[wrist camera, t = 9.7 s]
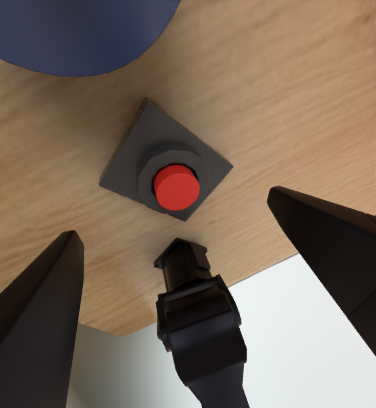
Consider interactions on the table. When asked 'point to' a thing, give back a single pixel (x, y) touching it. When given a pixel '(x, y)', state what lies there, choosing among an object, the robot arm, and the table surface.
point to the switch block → (161, 160)
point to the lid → (80, 33)
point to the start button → (176, 187)
